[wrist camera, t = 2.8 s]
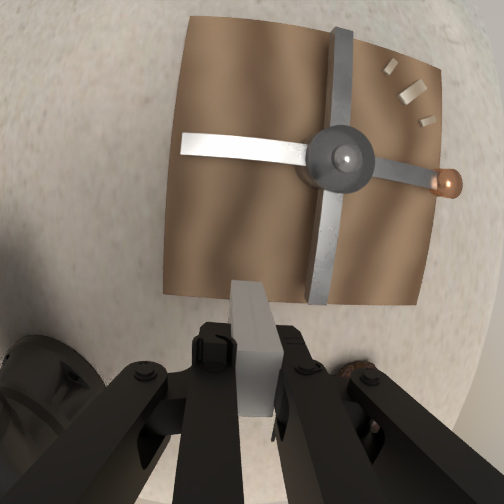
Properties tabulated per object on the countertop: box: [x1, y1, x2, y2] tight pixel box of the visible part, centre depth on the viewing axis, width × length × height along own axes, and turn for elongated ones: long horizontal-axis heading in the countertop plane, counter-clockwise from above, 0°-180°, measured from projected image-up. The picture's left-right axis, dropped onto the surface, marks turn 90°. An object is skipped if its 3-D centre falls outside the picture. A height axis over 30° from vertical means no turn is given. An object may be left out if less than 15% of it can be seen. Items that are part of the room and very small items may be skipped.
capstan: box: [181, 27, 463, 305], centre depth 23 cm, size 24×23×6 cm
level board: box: [163, 16, 442, 305], centre depth 27 cm, size 26×26×2 cm
